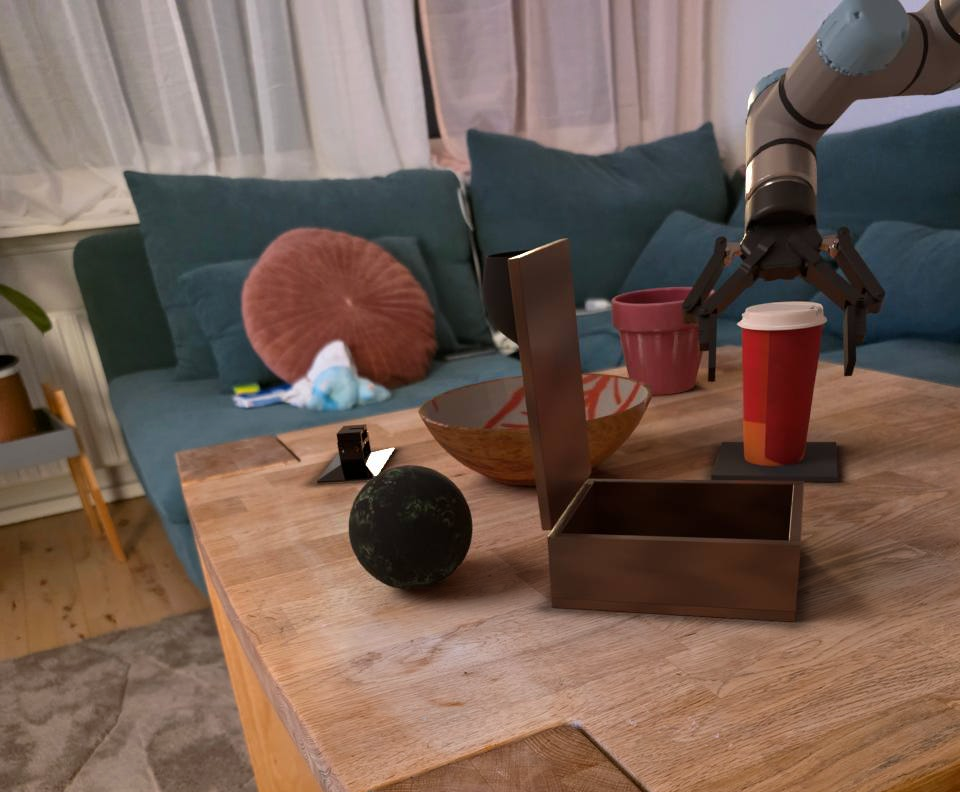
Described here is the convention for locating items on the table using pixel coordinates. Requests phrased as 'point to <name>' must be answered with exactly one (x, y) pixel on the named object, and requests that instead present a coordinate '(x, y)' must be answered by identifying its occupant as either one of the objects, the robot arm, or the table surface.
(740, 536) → the storage box
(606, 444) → the bowl
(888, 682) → the table surface
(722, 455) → the mat
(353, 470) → the black block with wedges
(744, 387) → the coffee cup
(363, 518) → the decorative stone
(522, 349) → the lid
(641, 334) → the flower pot
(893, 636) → the table surface
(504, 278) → the wine glass
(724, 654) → the table surface
